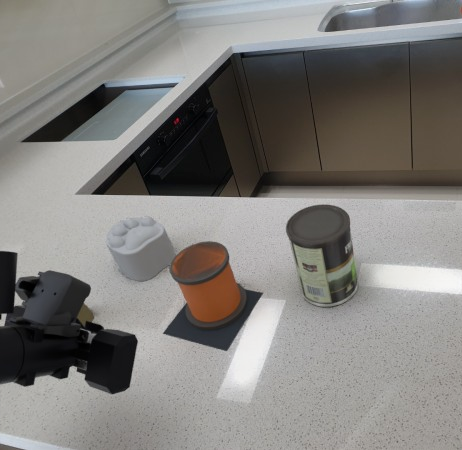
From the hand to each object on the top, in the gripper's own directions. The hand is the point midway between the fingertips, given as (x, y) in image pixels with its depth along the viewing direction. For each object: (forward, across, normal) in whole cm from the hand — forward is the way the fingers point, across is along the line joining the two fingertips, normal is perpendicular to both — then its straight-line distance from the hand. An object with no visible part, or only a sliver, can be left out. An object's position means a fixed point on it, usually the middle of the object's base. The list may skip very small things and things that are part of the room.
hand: (120, 338), depth 61 cm
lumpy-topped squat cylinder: (+28, +23, -9) cm, 37 cm away
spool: (+22, 0, -3) cm, 23 cm away
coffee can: (+30, -17, -10) cm, 36 cm away
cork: (+15, +25, +4) cm, 30 cm away
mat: (+22, 0, -2) cm, 22 cm away
